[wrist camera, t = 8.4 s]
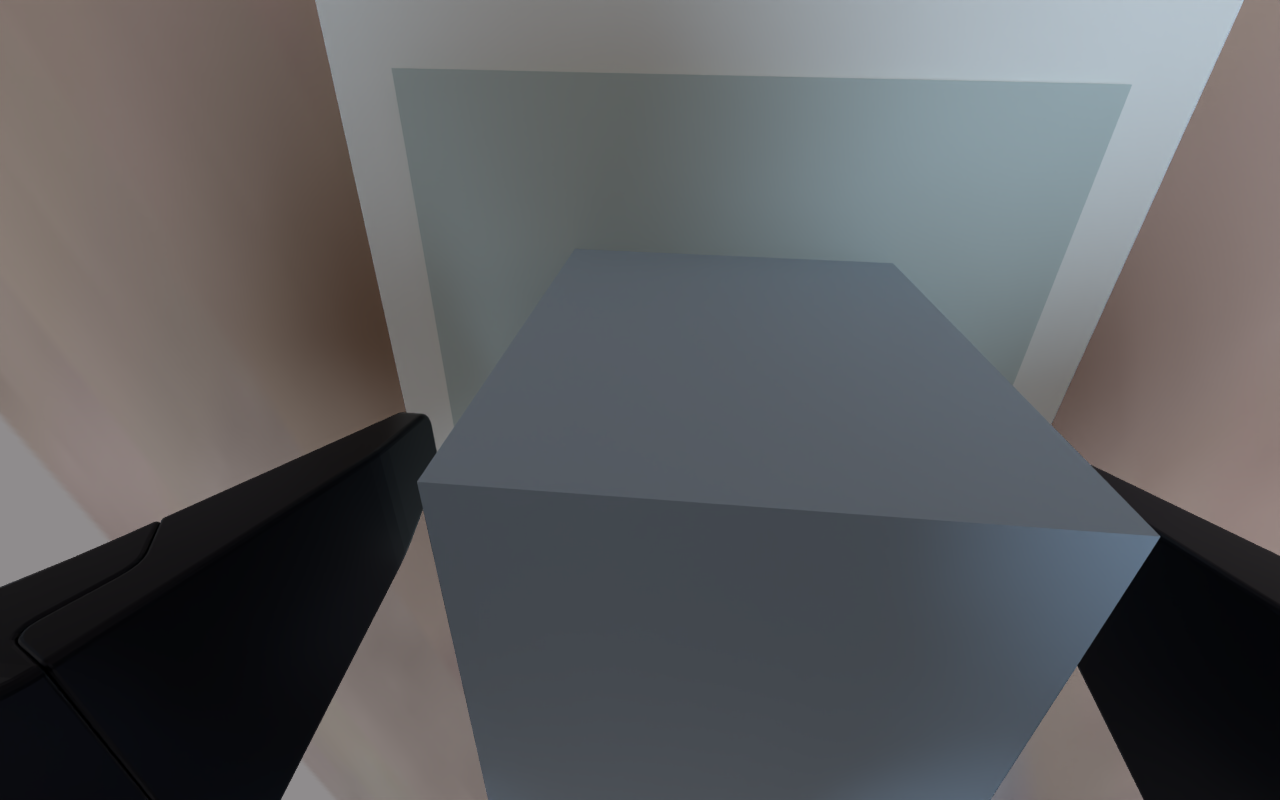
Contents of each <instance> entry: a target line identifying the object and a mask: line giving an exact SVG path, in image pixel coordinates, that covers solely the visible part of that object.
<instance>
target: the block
mask: <svg viewBox="0 0 1280 800" xmlns="http://www.w3.org/2000/svg"><path fill="white" fill-rule="evenodd" d="M417 484H418V489H419V493H420V498H421V502H422V506H423V511H424V515H425V520H426V524H427V529H428V533H429V538H430V542H431V547H432V551H433V556H434V560H435V564H436V569H437V573H438V578H439V582H440V587H441V591H442V596H443V600H444V605H445V609H446V613H447V618H448V622H449V627H450V631H451V636H452V640H453V645H454V649H455V654H456V658H457V663H458V667H459V671H460V676H461V680H462V685H463V689H464V694H465V698H466V703H467V707H468V712H469V716H470V721H471V725H472V729H473V734H474V738H475V743H476V747H477V752H478V756H479V761H480V765H481V770H482V774H483V779H484V783H485V787H486V792H487V796H488V800H991V798H992V797H993V795H994V793H995V792H996V790H997V789H998V787H999V786H1000V784H1001V783H1002V781H1003V780H1004V778H1005V776H1006V775H1007V773H1008V772H1009V770H1010V769H1011V767H1012V766H1013V764H1014V762H1015V761H1016V759H1017V758H1018V756H1019V755H1020V753H1021V752H1022V750H1023V749H1024V747H1025V745H1026V744H1027V742H1028V741H1029V739H1030V738H1031V736H1032V735H1033V733H1034V732H1035V730H1036V728H1037V727H1038V725H1039V724H1040V722H1041V721H1042V719H1043V718H1044V716H1045V715H1046V713H1047V711H1048V710H1049V708H1050V707H1051V705H1052V704H1053V702H1054V701H1055V699H1056V698H1057V696H1058V694H1059V693H1060V691H1061V690H1062V688H1063V687H1064V685H1065V684H1066V682H1067V681H1068V679H1069V677H1070V676H1071V674H1072V673H1073V671H1074V670H1075V668H1076V667H1077V665H1078V663H1079V662H1080V660H1081V659H1082V657H1083V656H1084V654H1085V653H1086V651H1087V650H1088V648H1089V646H1090V645H1091V643H1092V642H1093V640H1094V639H1095V637H1096V636H1097V634H1098V633H1099V631H1100V629H1101V628H1102V626H1103V625H1104V623H1105V622H1106V620H1107V619H1108V617H1109V616H1110V614H1111V612H1112V611H1113V609H1114V608H1115V606H1116V605H1117V603H1118V602H1119V600H1120V599H1121V597H1122V595H1123V594H1124V592H1125V591H1126V589H1127V588H1128V586H1129V585H1130V583H1131V582H1132V580H1133V578H1134V577H1135V575H1136V574H1137V572H1138V571H1139V569H1140V568H1141V566H1142V564H1143V563H1144V561H1145V560H1146V558H1147V557H1148V555H1149V554H1150V552H1151V551H1152V549H1153V547H1154V546H1155V544H1156V543H1157V541H1158V540H1159V538H1160V536H1159V535H1158V534H1157V533H1156V531H1155V530H1154V529H1153V528H1152V527H1151V526H1150V525H1149V524H1148V523H1147V522H1146V521H1145V520H1144V519H1143V518H1142V517H1141V516H1140V515H1139V514H1138V513H1137V512H1136V511H1135V510H1134V509H1133V508H1132V507H1131V506H1130V505H1129V504H1128V503H1127V502H1126V501H1125V500H1124V499H1123V498H1122V497H1121V496H1120V495H1119V494H1118V493H1117V492H1116V491H1115V490H1114V489H1113V488H1112V487H1111V486H1110V485H1109V483H1108V482H1107V481H1106V480H1105V479H1104V478H1103V477H1102V476H1101V475H1100V474H1099V473H1098V472H1097V471H1096V470H1095V469H1094V468H1093V467H1092V466H1091V465H1090V464H1089V463H1088V462H1087V461H1086V460H1085V459H1084V458H1083V457H1082V456H1081V455H1080V454H1079V453H1078V452H1077V451H1076V450H1075V449H1074V448H1073V447H1072V446H1071V445H1070V444H1069V443H1068V442H1067V441H1066V440H1065V439H1064V438H1063V436H1062V435H1061V434H1060V433H1059V432H1058V431H1057V430H1056V429H1055V428H1054V427H1053V426H1052V425H1051V424H1050V423H1049V422H1048V421H1047V420H1046V419H1045V418H1044V417H1043V416H1042V415H1041V414H1040V413H1039V412H1038V411H1037V410H1036V409H1035V408H1034V407H1033V406H1032V405H1031V404H1030V403H1029V402H1028V401H1027V400H1026V399H1025V398H1024V397H1023V396H1022V395H1021V394H1020V393H1019V392H1018V391H1017V389H1016V388H1015V387H1014V386H1013V385H1012V384H1011V383H1010V382H1009V381H1008V380H1007V379H1006V378H1005V377H1004V376H1003V375H1002V374H1001V373H1000V372H999V371H998V370H997V369H996V368H995V367H994V366H993V365H992V364H991V363H990V362H989V361H988V360H987V359H986V358H985V357H984V356H983V355H982V354H981V353H980V352H979V351H978V350H977V349H976V348H975V347H974V346H973V345H972V344H971V342H970V341H969V340H968V339H967V338H966V337H965V336H964V335H963V334H962V333H961V332H960V331H959V330H958V329H957V328H956V327H955V326H954V325H953V324H952V323H951V322H950V321H949V320H948V319H947V318H946V317H945V316H944V315H943V314H942V313H941V312H940V311H939V310H938V309H937V308H936V307H935V306H934V305H933V304H932V303H931V302H930V301H929V300H928V299H927V298H926V297H925V295H924V294H923V293H922V292H921V291H920V290H919V289H918V288H917V287H916V286H915V285H914V284H913V283H912V282H911V281H910V280H909V279H908V278H907V277H906V276H905V275H904V274H903V273H902V272H901V271H900V270H899V269H898V268H897V267H896V266H895V265H894V264H893V263H876V262H854V261H832V260H809V259H787V258H765V257H743V256H720V255H698V254H676V253H654V252H631V251H609V250H587V249H574V251H573V252H572V254H571V255H570V257H569V258H568V260H567V261H566V263H565V264H564V266H563V267H562V269H561V270H560V271H559V273H558V274H557V276H556V277H555V279H554V280H553V282H552V283H551V285H550V286H549V288H548V289H547V291H546V292H545V294H544V295H543V297H542V298H541V300H540V301H539V302H538V304H537V305H536V307H535V308H534V310H533V311H532V313H531V314H530V316H529V317H528V319H527V320H526V322H525V323H524V325H523V326H522V328H521V329H520V331H519V332H518V333H517V335H516V336H515V338H514V339H513V341H512V342H511V344H510V345H509V347H508V348H507V350H506V351H505V353H504V354H503V356H502V357H501V359H500V360H499V361H498V363H497V364H496V366H495V367H494V369H493V370H492V372H491V373H490V375H489V376H488V378H487V379H486V381H485V382H484V384H483V385H482V387H481V388H480V390H479V391H478V392H477V394H476V395H475V397H474V398H473V400H472V401H471V403H470V404H469V406H468V407H467V409H466V410H465V412H464V413H463V415H462V416H461V418H460V419H459V420H458V422H457V423H456V425H455V426H454V428H453V429H452V431H451V432H450V434H449V435H448V437H447V438H446V440H445V441H444V443H443V444H442V446H441V447H440V449H439V450H438V451H437V453H436V454H435V456H434V457H433V459H432V460H431V462H430V463H429V465H428V466H427V468H426V469H425V471H424V472H423V474H422V475H421V477H420V478H419V480H418V481H417Z"/></svg>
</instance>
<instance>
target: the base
mask: <svg viewBox="0 0 1280 800" xmlns="http://www.w3.org/2000/svg"><path fill="white" fill-rule="evenodd" d="M1243 1H1244V0H315V2H316V6H317V11H318V15H319V20H320V24H321V29H322V33H323V38H324V42H325V47H326V51H327V56H328V60H329V65H330V70H331V74H332V79H333V83H334V88H335V92H336V97H337V101H338V106H339V110H340V115H341V119H342V124H343V128H344V133H345V137H346V142H347V146H348V151H349V155H350V160H351V165H352V169H353V174H354V178H355V183H356V187H357V192H358V196H359V201H360V205H361V210H362V214H363V219H364V223H365V228H366V232H367V237H368V241H369V246H370V250H371V255H372V260H373V264H374V269H375V273H376V278H377V282H378V287H379V291H380V296H381V300H382V305H383V309H384V314H385V318H386V323H387V327H388V332H389V336H390V341H391V345H392V350H393V354H394V359H395V364H396V368H397V373H398V377H399V382H400V386H401V391H402V395H403V400H404V404H405V409H406V413H421V414H425V415H427V416H428V417H429V419H430V421H431V424H432V429H433V434H434V439H435V444H436V449H437V451H438V450H439V449H440V447H441V446H442V444H443V443H444V441H445V440H446V438H447V437H448V435H449V434H450V432H451V431H452V429H453V428H454V426H455V425H456V423H457V422H458V420H459V419H460V418H461V416H462V415H463V413H464V412H465V410H466V409H467V407H468V406H469V404H470V403H471V401H472V400H473V398H474V397H475V395H476V394H477V392H478V391H479V390H480V388H481V387H482V385H483V384H484V382H485V381H486V379H487V378H488V376H489V375H490V373H491V372H492V370H493V369H494V367H495V366H496V364H497V363H498V361H499V360H500V359H501V357H502V356H503V354H504V353H505V351H506V350H507V348H508V347H509V345H510V344H511V342H512V341H513V339H514V338H515V336H516V335H517V333H518V332H519V331H520V329H521V328H522V326H523V325H524V323H525V322H526V320H527V319H528V317H529V316H530V314H531V313H532V311H533V310H534V308H535V307H536V305H537V304H538V302H539V301H540V300H541V298H542V297H543V295H544V294H545V292H546V291H547V289H548V288H549V286H550V285H551V283H552V282H553V280H554V279H555V277H556V276H557V274H558V273H559V271H560V270H561V269H562V267H563V266H564V264H565V263H566V261H567V260H568V258H569V257H570V255H571V254H572V252H573V251H574V249H587V250H609V251H631V252H654V253H676V254H698V255H720V256H743V257H765V258H787V259H809V260H832V261H854V262H876V263H893V264H894V265H895V266H896V267H897V268H898V269H899V270H900V271H901V272H902V273H903V274H904V275H905V276H906V277H907V278H908V279H909V280H910V281H911V282H912V283H913V284H914V285H915V286H916V287H917V288H918V289H919V290H920V291H921V292H922V293H923V294H924V295H925V297H926V298H927V299H928V300H929V301H930V302H931V303H932V304H933V305H934V306H935V307H936V308H937V309H938V310H939V311H940V312H941V313H942V314H943V315H944V316H945V317H946V318H947V319H948V320H949V321H950V322H951V323H952V324H953V325H954V326H955V327H956V328H957V329H958V330H959V331H960V332H961V333H962V334H963V335H964V336H965V337H966V338H967V339H968V340H969V341H970V342H971V344H972V345H973V346H974V347H975V348H976V349H977V350H978V351H979V352H980V353H981V354H982V355H983V356H984V357H985V358H986V359H987V360H988V361H989V362H990V363H991V364H992V365H993V366H994V367H995V368H996V369H997V370H998V371H999V372H1000V373H1001V374H1002V375H1003V376H1004V377H1005V378H1006V379H1007V380H1008V381H1009V382H1010V383H1011V384H1012V385H1013V386H1014V387H1015V388H1016V389H1017V391H1018V392H1019V393H1020V394H1021V395H1022V396H1023V397H1024V398H1025V399H1026V400H1027V401H1028V402H1029V403H1030V404H1031V405H1032V406H1033V407H1034V408H1035V409H1036V410H1037V411H1038V412H1039V413H1040V414H1041V415H1042V416H1043V417H1044V418H1045V419H1046V420H1047V421H1048V422H1049V423H1050V424H1052V422H1053V420H1054V418H1055V416H1056V413H1057V411H1058V409H1059V407H1060V404H1061V402H1062V400H1063V398H1064V396H1065V393H1066V391H1067V389H1068V387H1069V385H1070V382H1071V380H1072V378H1073V376H1074V374H1075V371H1076V369H1077V367H1078V365H1079V363H1080V360H1081V358H1082V356H1083V354H1084V352H1085V349H1086V347H1087V345H1088V343H1089V341H1090V338H1091V336H1092V334H1093V332H1094V330H1095V327H1096V325H1097V323H1098V321H1099V318H1100V316H1101V314H1102V312H1103V310H1104V307H1105V305H1106V303H1107V301H1108V299H1109V296H1110V294H1111V292H1112V290H1113V288H1114V285H1115V283H1116V281H1117V279H1118V277H1119V274H1120V272H1121V270H1122V268H1123V266H1124V263H1125V261H1126V259H1127V257H1128V255H1129V252H1130V250H1131V248H1132V246H1133V244H1134V241H1135V239H1136V237H1137V235H1138V232H1139V230H1140V228H1141V226H1142V224H1143V221H1144V219H1145V217H1146V215H1147V213H1148V210H1149V208H1150V206H1151V204H1152V202H1153V199H1154V197H1155V195H1156V193H1157V191H1158V188H1159V186H1160V184H1161V182H1162V180H1163V177H1164V175H1165V173H1166V171H1167V169H1168V166H1169V164H1170V162H1171V160H1172V158H1173V155H1174V153H1175V151H1176V149H1177V146H1178V144H1179V142H1180V140H1181V138H1182V135H1183V133H1184V131H1185V129H1186V127H1187V124H1188V122H1189V120H1190V118H1191V116H1192V113H1193V111H1194V109H1195V107H1196V105H1197V102H1198V100H1199V98H1200V96H1201V94H1202V91H1203V89H1204V87H1205V85H1206V83H1207V80H1208V78H1209V76H1210V74H1211V72H1212V69H1213V67H1214V65H1215V63H1216V60H1217V58H1218V56H1219V54H1220V52H1221V49H1222V47H1223V45H1224V43H1225V41H1226V38H1227V36H1228V34H1229V32H1230V30H1231V27H1232V25H1233V23H1234V21H1235V19H1236V16H1237V14H1238V12H1239V10H1240V8H1241V5H1242V3H1243Z"/></svg>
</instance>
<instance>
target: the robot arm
mask: <svg viewBox="0 0 1280 800" xmlns="http://www.w3.org/2000/svg"><path fill="white" fill-rule="evenodd" d="M436 453H437V449H436V444H435V439H434V434H433V429H432V424H431V421H430V419H429V417H428V416H427V415H425V414H421V413H406V412H402V413H398V414H395V415H393V416H391V417H389V418H387V419H384V420H382V421H380V422H378V423H375V424H373V425H371V426H369V427H366V428H364V429H362V430H360V431H357V432H355V433H353V434H351V435H348V436H346V437H344V438H342V439H339V440H337V441H335V442H333V443H330V444H328V445H326V446H324V447H322V448H319V449H317V450H315V451H313V452H310V453H308V454H306V455H304V456H301V457H299V458H297V459H295V460H292V461H290V462H288V463H286V464H283V465H281V466H279V467H277V468H274V469H272V470H270V471H268V472H265V473H263V474H261V475H259V476H257V477H254V478H252V479H250V480H248V481H245V482H243V483H241V484H239V485H236V486H234V487H232V488H230V489H227V490H225V491H223V492H221V493H218V494H216V495H214V496H212V497H209V498H207V499H205V500H203V501H201V502H198V503H196V504H194V505H192V506H189V507H187V508H185V509H183V510H180V511H178V512H176V513H174V514H171V515H169V516H167V517H165V518H163V519H162V520H161V523H160V522H153V523H151V524H149V525H146V526H144V527H142V528H140V529H137V530H135V531H133V532H131V533H129V534H126V535H124V536H122V537H119V538H117V539H115V540H112V541H110V542H108V543H106V544H103V545H101V546H99V547H97V548H94V549H92V550H90V551H87V552H85V553H82V554H80V555H78V556H76V557H73V558H71V559H68V560H66V561H63V562H61V563H59V564H56V565H54V566H51V567H49V568H46V569H44V570H41V571H39V572H36V573H34V574H32V575H29V576H26V577H24V578H22V579H19V580H17V581H14V582H12V583H9V584H7V585H4V586H2V587H0V800H281V798H282V796H283V794H284V792H285V790H286V789H287V787H288V785H289V782H290V781H291V779H292V777H293V775H294V773H295V771H296V769H297V767H298V765H299V763H300V761H301V759H302V757H303V755H304V753H305V751H306V749H307V747H308V745H309V744H310V742H311V740H312V738H313V736H314V734H315V732H316V730H317V728H318V726H319V724H320V722H321V720H322V718H323V716H324V714H325V712H326V710H327V708H328V706H329V704H330V702H331V700H332V699H333V697H334V695H335V693H336V691H337V689H338V687H339V685H340V683H341V681H342V679H343V677H344V675H345V673H346V671H347V669H348V667H349V665H350V663H351V661H352V659H353V657H354V655H355V654H356V652H357V650H358V648H359V646H360V644H361V642H362V640H363V638H364V636H365V634H366V632H367V630H368V628H369V626H370V624H371V622H372V620H373V618H374V616H375V614H376V612H377V610H378V609H379V607H380V605H381V603H382V601H383V599H384V597H385V595H386V593H387V591H388V589H389V587H390V585H391V583H392V581H393V579H394V577H395V575H396V573H397V571H398V569H399V567H400V565H401V563H402V561H403V559H404V557H405V555H406V552H407V550H408V548H409V545H410V543H411V540H412V537H413V535H414V532H415V529H416V527H417V524H418V521H419V519H420V516H421V513H422V511H423V506H422V502H421V498H420V493H419V489H418V484H417V481H418V480H419V478H420V477H421V475H422V474H423V472H424V471H425V469H426V468H427V466H428V465H429V463H430V462H431V460H432V459H433V457H434V456H435V454H436ZM1091 466H1092V465H1091ZM1092 467H1093V468H1094V469H1095V470H1096V471H1097V472H1098V473H1099V474H1100V475H1101V476H1102V477H1103V478H1104V479H1105V480H1106V481H1107V482H1108V483H1109V485H1110V486H1111V487H1112V488H1113V489H1114V490H1115V491H1116V492H1117V493H1118V494H1119V495H1120V496H1121V497H1122V498H1123V499H1124V500H1125V501H1126V502H1127V503H1128V504H1129V505H1130V506H1131V507H1132V508H1133V509H1134V510H1135V511H1136V512H1137V513H1138V514H1139V515H1140V516H1141V517H1142V518H1143V519H1144V520H1145V521H1146V522H1147V523H1148V524H1149V525H1150V526H1151V527H1152V528H1153V529H1154V530H1155V531H1156V533H1157V534H1158V535H1159V536H1160V538H1159V540H1158V541H1157V543H1156V544H1155V546H1154V547H1153V549H1152V551H1151V552H1150V554H1149V555H1148V557H1147V558H1146V560H1145V561H1144V563H1143V564H1142V566H1141V568H1140V569H1139V571H1138V572H1137V574H1136V575H1135V577H1134V578H1133V580H1132V582H1131V583H1130V585H1129V586H1128V588H1127V589H1126V591H1125V592H1124V594H1123V595H1122V597H1121V599H1120V600H1119V602H1118V603H1117V605H1116V606H1115V608H1114V609H1113V611H1112V612H1111V614H1110V616H1109V617H1108V619H1107V620H1106V622H1105V623H1104V625H1103V626H1102V628H1101V629H1100V631H1099V633H1098V634H1097V636H1096V637H1095V639H1094V640H1093V642H1092V643H1091V645H1090V646H1089V648H1088V650H1087V651H1086V653H1085V654H1084V656H1083V657H1082V659H1081V660H1080V662H1079V663H1078V665H1077V666H1078V668H1079V670H1080V672H1081V674H1082V676H1083V678H1084V680H1085V682H1086V684H1087V686H1088V688H1089V690H1090V692H1091V694H1092V696H1093V698H1094V700H1095V702H1096V704H1097V706H1098V709H1099V711H1100V713H1101V715H1102V717H1103V719H1104V721H1105V723H1106V725H1107V727H1108V729H1109V731H1110V733H1111V735H1112V737H1113V739H1114V741H1115V743H1116V745H1117V747H1118V749H1119V751H1120V753H1121V755H1122V757H1123V759H1124V761H1125V763H1126V765H1127V767H1128V769H1129V771H1130V773H1131V775H1132V777H1133V779H1134V781H1135V783H1136V785H1137V787H1138V789H1139V791H1140V793H1141V795H1142V797H1143V799H1144V800H1280V556H1279V555H1277V554H1275V553H1273V552H1271V551H1269V550H1266V549H1264V548H1262V547H1260V546H1258V545H1256V544H1254V543H1252V542H1250V541H1248V540H1246V539H1244V538H1242V537H1240V536H1237V535H1235V534H1233V533H1231V532H1229V531H1227V530H1225V529H1223V528H1221V527H1219V526H1217V525H1215V524H1213V523H1210V522H1208V521H1206V520H1204V519H1202V518H1200V517H1198V516H1196V515H1194V514H1192V513H1190V512H1188V511H1186V510H1183V509H1181V508H1179V507H1177V506H1175V505H1173V504H1171V503H1169V502H1167V501H1165V500H1163V499H1161V498H1159V497H1156V496H1154V495H1152V494H1150V493H1148V492H1146V491H1144V490H1142V489H1140V488H1138V487H1136V486H1134V485H1132V484H1130V483H1127V482H1125V481H1123V480H1121V479H1119V478H1117V477H1115V476H1113V475H1111V474H1109V473H1107V472H1105V471H1103V470H1100V469H1098V468H1096V467H1094V466H1092Z"/></svg>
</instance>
